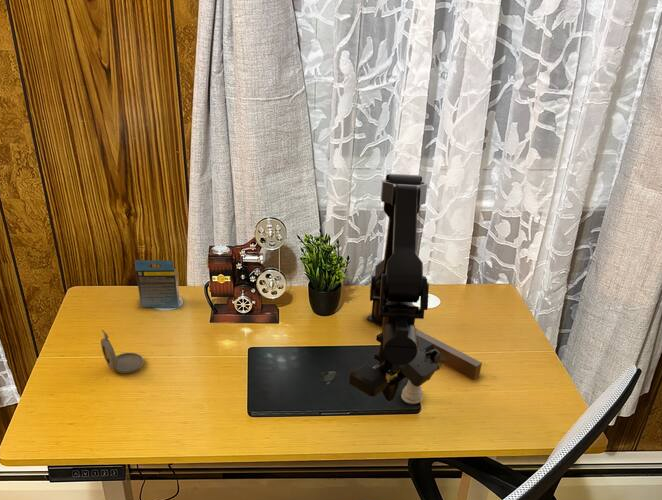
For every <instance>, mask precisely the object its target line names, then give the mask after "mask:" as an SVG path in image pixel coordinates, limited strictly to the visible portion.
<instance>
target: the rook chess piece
mask: <svg viewBox="0 0 662 500" xmlns="http://www.w3.org/2000/svg"><path fill="white" fill-rule="evenodd" d="M400 397H401V400H402V401H403V402H404V403H407V404H409V405H417V404H419V403H421V402H422V401H423V399H424V391H423V389H422V387H421V385H420V386H418V387H417V386H414V385H413V384H412V383H411V381H410V380H409V379H408V378H407V383H406V385H405V386H404V387H403V388H402V390H401V394H400Z"/></svg>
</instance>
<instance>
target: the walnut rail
mask: <svg viewBox="0 0 662 500" xmlns="http://www.w3.org/2000/svg"><path fill="white" fill-rule="evenodd" d="M416 336H418V337H420V338H422V339H424V340H426V341H428V342H430V343H432V344H433V346H434V347H435V349H437V350H438V351H439V352H440V353H441V360H440V364H443V365H445V366H447V367H449V368H451V369H452V370H454V371H456V372H458V373H459V374H462V375H464V376H466V377H467V378H469V379H471V380H476V379H477V378H479V377H480V373H481V370H482V366H483V365H482V364H483V362H481V361H479V360H478V359H476V358H474V357H471V356H470V355H468V354H466V353H463V352H462V351H460V350H458V349H456V348H454V347H453V346H451V345H448V344H447V343H445V342H443V341H441V340H439V339H438V338H435V337H433V336H431V335H430V334H427V333H426V332H424V331H422V330H419V329H418V328H416Z"/></svg>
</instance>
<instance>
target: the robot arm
mask: <svg viewBox="0 0 662 500" xmlns="http://www.w3.org/2000/svg"><path fill="white" fill-rule="evenodd" d="M427 193H428V182H427V181H423V176H421V175H420V174H406V173H405V174H404V173H389V174H388V173H387V174H386V175H385V179H382V180H381V188H380V202H382V203H383V212H384V213H385V215H386V216H387V218H388V222H387V223H388V224H387V231H386V239H385V248H384V256H383V259H382V260H381V261H380V262H379V263H377V264H376V266H375V270H374V274H372V275H371V278H370V283H369V284H370V286H369V302H372V305H371V314H370V315H368V316H367V317H366V320H367V321H369V322H371V323H372V324H374V325H376V326H378V327H379V328H381V332H380V333H378V334H377V335H376V337H375V341H377V342H378V343H379V351H377V352H375V353H374V355H373V359H374V360H375V361H378V362H379V363H378V364H376V365H374V366H373V367H372V366H371V365H368V364H367V363H365V364H364V365H361V366H360V367H358V368H356V369H355V370H352V371H351V372H350V373H349V385H350V386H352V387H354V388H355V389H357V390H359V391H360V392H362V393H364V394H365V395H367V396H369V397H376V396H377V395H379V394H380V393H382V394H383V396H384V398H385V400H386V401H388V402H391V401H393V400H394V398H395V396H396V394H397V392H398V391H399V388H400V387H401V385H402V383H403V382H404V380H405V379H407V380H408V379H409V380H410V381H411V383H412V384H413V385H414V386H417V387H418V386H420V387H421V386H422V385H423V384H425V383H426V382H428V381H430V380H431V378H432V377H433V375H434V374H435V372H437V371H438V370H440V368H441V362H440V360H441V353H440V352H439V351H438V350H437V349H435V347H434V346H433V344H432V343H430V342H428V341H426V340H424V339H422V338H420V337H418V336H416V329H417V328H416V325H415V322H416V319H419V320H424V318H425V311H427V310H428V309H429V292H430V291H429V290H430V289H429V288H430V287H429V286H430V282H428V278H427V276H426V275H424V264H423V263H424V262H423V261H422V259H421V258H420V257H419V255H418V254H417V237H418V236H417V235H418V233H417V230H418V214H419V213H420V209H421V206H422V205H426V203H427V195H428V194H427ZM419 300H420V303H419V306H416V305H415V303H416V304H417V303H418V302H419ZM439 363H440V364H439Z"/></svg>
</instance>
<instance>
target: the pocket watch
mask: <svg viewBox="0 0 662 500" xmlns="http://www.w3.org/2000/svg"><path fill="white" fill-rule="evenodd" d="M101 331H102V333H103V337H102V338H101V340H100V347H101V351H102V354H103V357H104V360H105V362H106V364H107V367H108V368H109V369H110V370H114V371H115V372H118V373H120V374H121V373H122V374H130V373H134V372H137V371H138V370H140V369H141V368H142V367H143V365H144V358H143V356H141V355H140V354H138V353H135V352H124V353H120V354H118V355H116V352H115V350H114V347H113V345H112V343H111V341H110V340H109V335H108V333H106V332H105V331H104V329H103V328H102V329H101Z"/></svg>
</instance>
